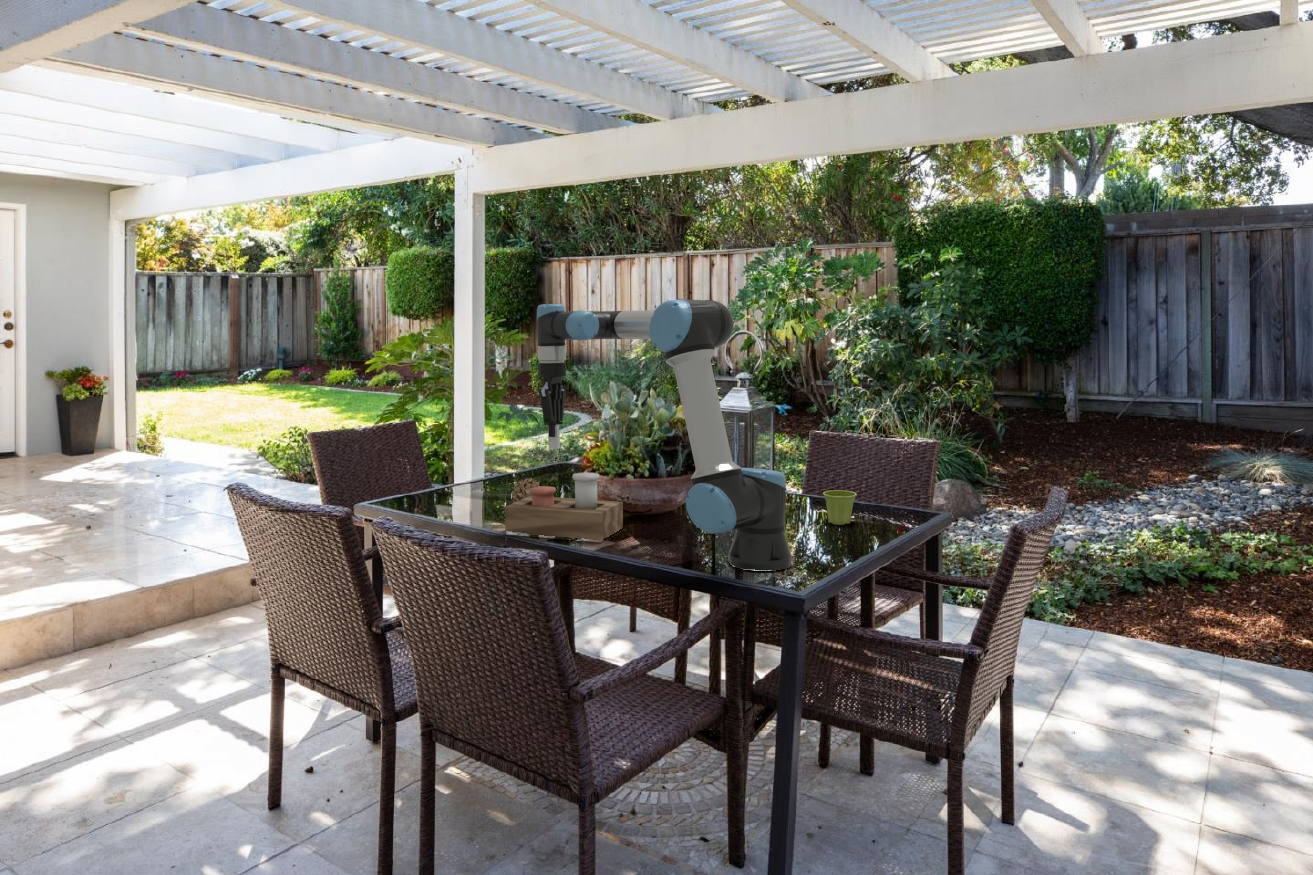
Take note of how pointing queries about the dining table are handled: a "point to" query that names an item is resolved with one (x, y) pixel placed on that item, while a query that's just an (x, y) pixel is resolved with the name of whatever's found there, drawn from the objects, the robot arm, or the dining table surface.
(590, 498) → the grey plug
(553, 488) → the red plug
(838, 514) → the plant pot
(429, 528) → the dining table surface
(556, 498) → the brown wooden plug box
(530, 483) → the pine cone
